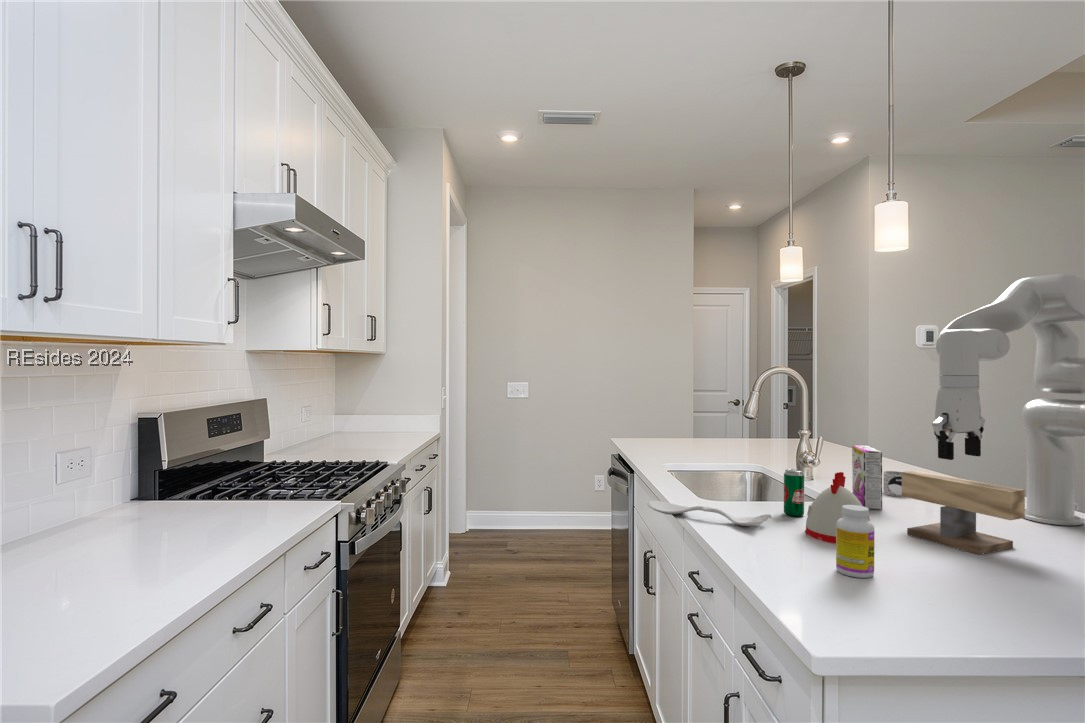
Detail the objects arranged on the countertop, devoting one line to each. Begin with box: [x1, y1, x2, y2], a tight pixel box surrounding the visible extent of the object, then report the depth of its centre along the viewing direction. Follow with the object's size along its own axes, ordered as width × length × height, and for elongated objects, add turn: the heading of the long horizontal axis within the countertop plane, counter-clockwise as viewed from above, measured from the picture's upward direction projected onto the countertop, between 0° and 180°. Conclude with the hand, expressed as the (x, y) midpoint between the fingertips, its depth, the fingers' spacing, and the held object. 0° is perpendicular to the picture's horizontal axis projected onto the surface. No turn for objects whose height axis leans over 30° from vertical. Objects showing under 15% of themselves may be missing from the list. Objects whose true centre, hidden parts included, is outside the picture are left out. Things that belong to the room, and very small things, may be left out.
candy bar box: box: [851, 444, 883, 510], centre depth 170 cm, size 11×5×16 cm, turn 168°
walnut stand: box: [906, 505, 1014, 555], centre depth 137 cm, size 12×16×8 cm
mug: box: [882, 470, 903, 497], centre depth 184 cm, size 10×7×7 cm
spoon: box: [647, 500, 772, 527], centre depth 156 cm, size 9×32×4 cm, turn 52°
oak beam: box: [901, 470, 1026, 521], centre depth 137 cm, size 5×24×6 cm, turn 24°
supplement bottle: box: [835, 505, 875, 579], centre depth 116 cm, size 7×7×13 cm
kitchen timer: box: [805, 471, 871, 544], centre depth 141 cm, size 14×14×15 cm
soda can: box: [783, 468, 805, 518], centre depth 159 cm, size 5×5×12 cm
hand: (959, 457), depth 137 cm, fingers open, 9 cm apart
